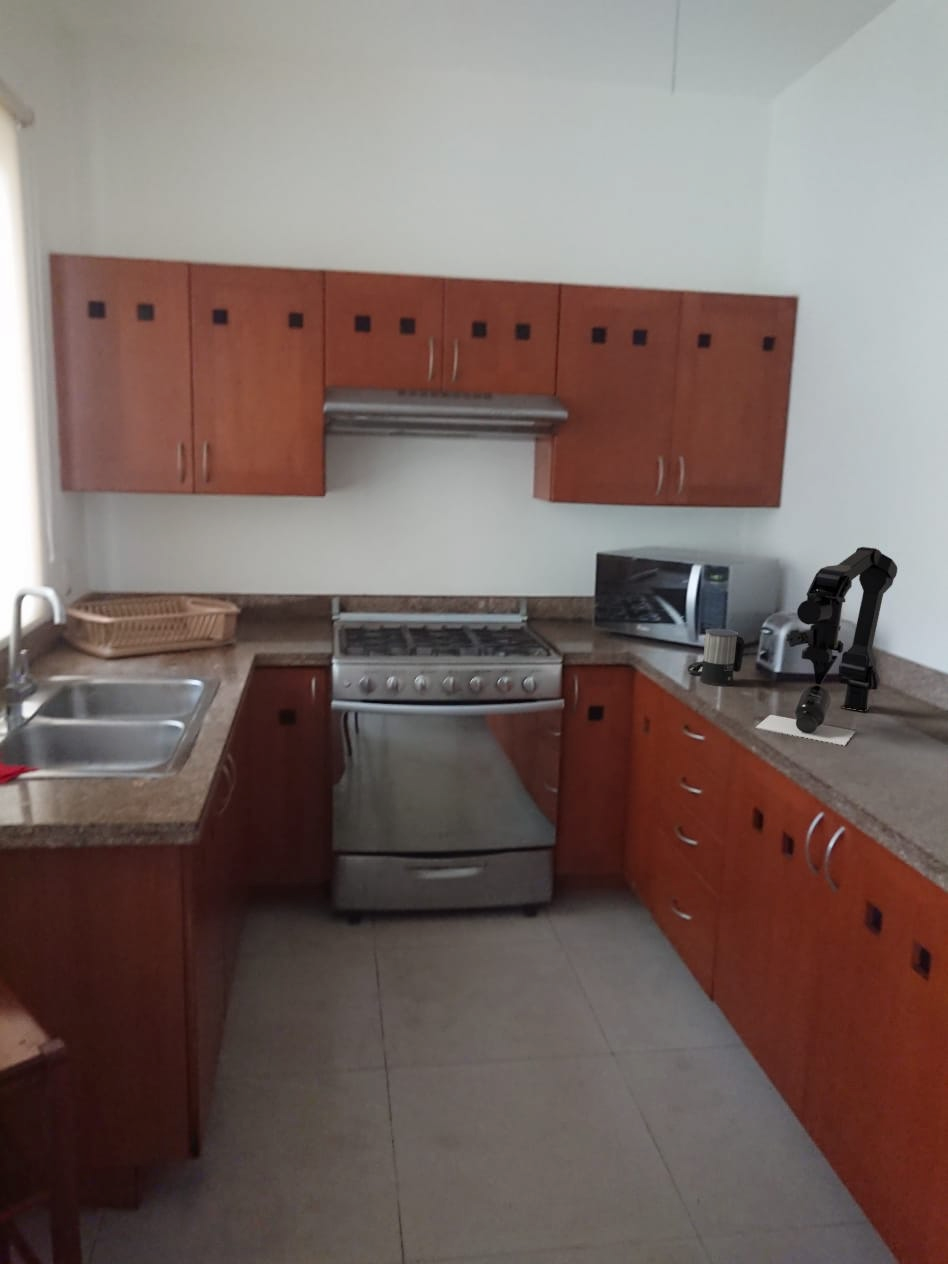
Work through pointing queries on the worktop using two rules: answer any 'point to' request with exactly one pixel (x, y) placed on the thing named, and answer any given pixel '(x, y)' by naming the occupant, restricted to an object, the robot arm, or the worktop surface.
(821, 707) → the supplement bottle
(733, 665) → the milk frother
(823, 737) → the mat
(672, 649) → the worktop surface
